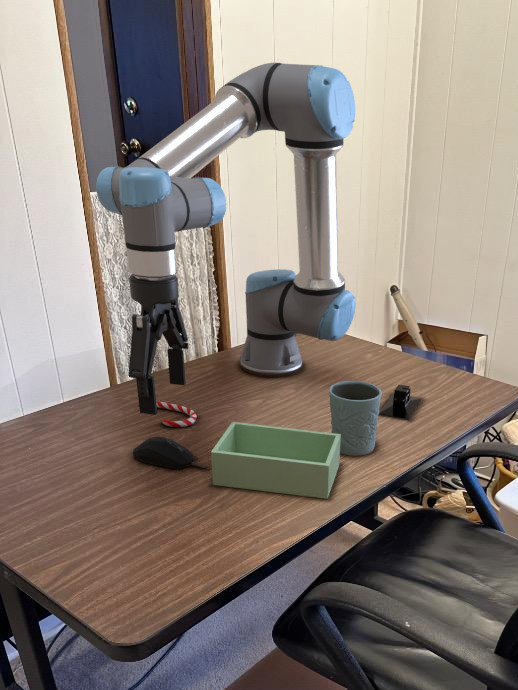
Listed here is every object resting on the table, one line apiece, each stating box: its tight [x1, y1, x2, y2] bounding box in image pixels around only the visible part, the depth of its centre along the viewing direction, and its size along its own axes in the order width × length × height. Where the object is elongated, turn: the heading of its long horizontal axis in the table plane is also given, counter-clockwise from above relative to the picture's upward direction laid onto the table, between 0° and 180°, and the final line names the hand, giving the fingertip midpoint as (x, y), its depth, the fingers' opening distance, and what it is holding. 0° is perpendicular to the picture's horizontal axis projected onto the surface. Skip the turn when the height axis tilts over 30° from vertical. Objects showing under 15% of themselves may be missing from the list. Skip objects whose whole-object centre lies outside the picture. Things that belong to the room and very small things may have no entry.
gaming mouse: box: [132, 435, 207, 470], centre depth 127 cm, size 6×15×4 cm, turn 71°
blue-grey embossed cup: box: [328, 380, 383, 457], centre depth 136 cm, size 10×10×12 cm
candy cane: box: [156, 400, 198, 428], centre depth 144 cm, size 8×1×15 cm
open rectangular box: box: [210, 421, 341, 500], centre depth 125 cm, size 13×21×7 cm, turn 83°
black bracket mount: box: [378, 384, 423, 421], centre depth 156 cm, size 12×7×5 cm, turn 164°
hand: (164, 398), depth 122 cm, fingers open, 13 cm apart
